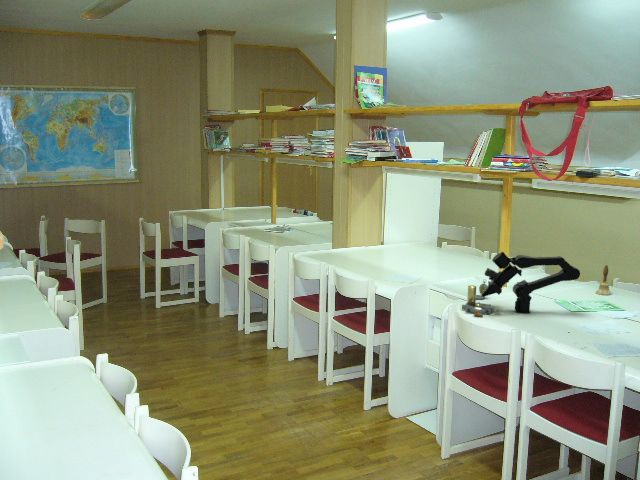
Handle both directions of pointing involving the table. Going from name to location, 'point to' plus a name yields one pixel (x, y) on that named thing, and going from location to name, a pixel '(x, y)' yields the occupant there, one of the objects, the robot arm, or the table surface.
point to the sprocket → (476, 307)
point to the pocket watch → (481, 290)
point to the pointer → (478, 315)
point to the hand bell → (604, 284)
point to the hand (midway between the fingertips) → (482, 295)
